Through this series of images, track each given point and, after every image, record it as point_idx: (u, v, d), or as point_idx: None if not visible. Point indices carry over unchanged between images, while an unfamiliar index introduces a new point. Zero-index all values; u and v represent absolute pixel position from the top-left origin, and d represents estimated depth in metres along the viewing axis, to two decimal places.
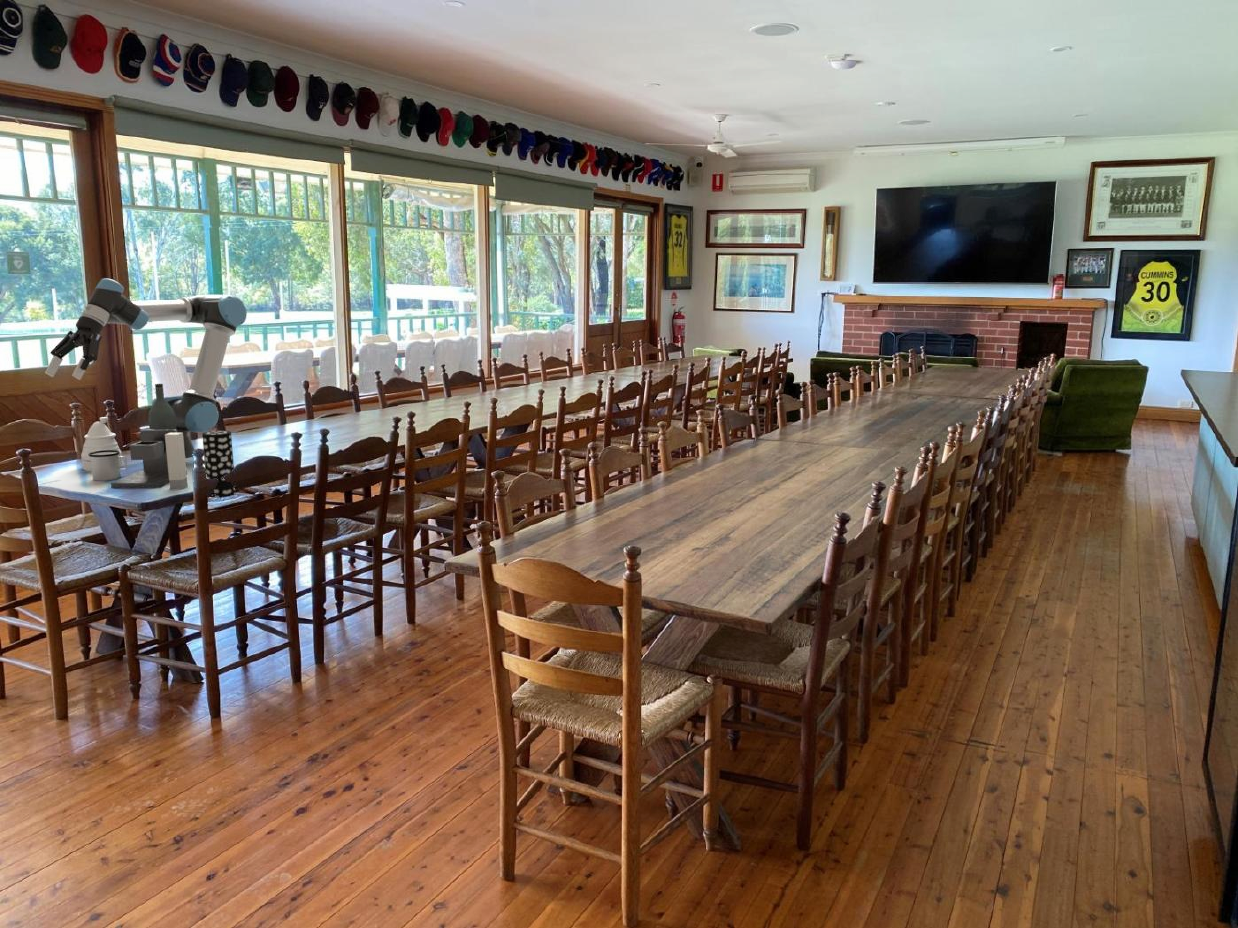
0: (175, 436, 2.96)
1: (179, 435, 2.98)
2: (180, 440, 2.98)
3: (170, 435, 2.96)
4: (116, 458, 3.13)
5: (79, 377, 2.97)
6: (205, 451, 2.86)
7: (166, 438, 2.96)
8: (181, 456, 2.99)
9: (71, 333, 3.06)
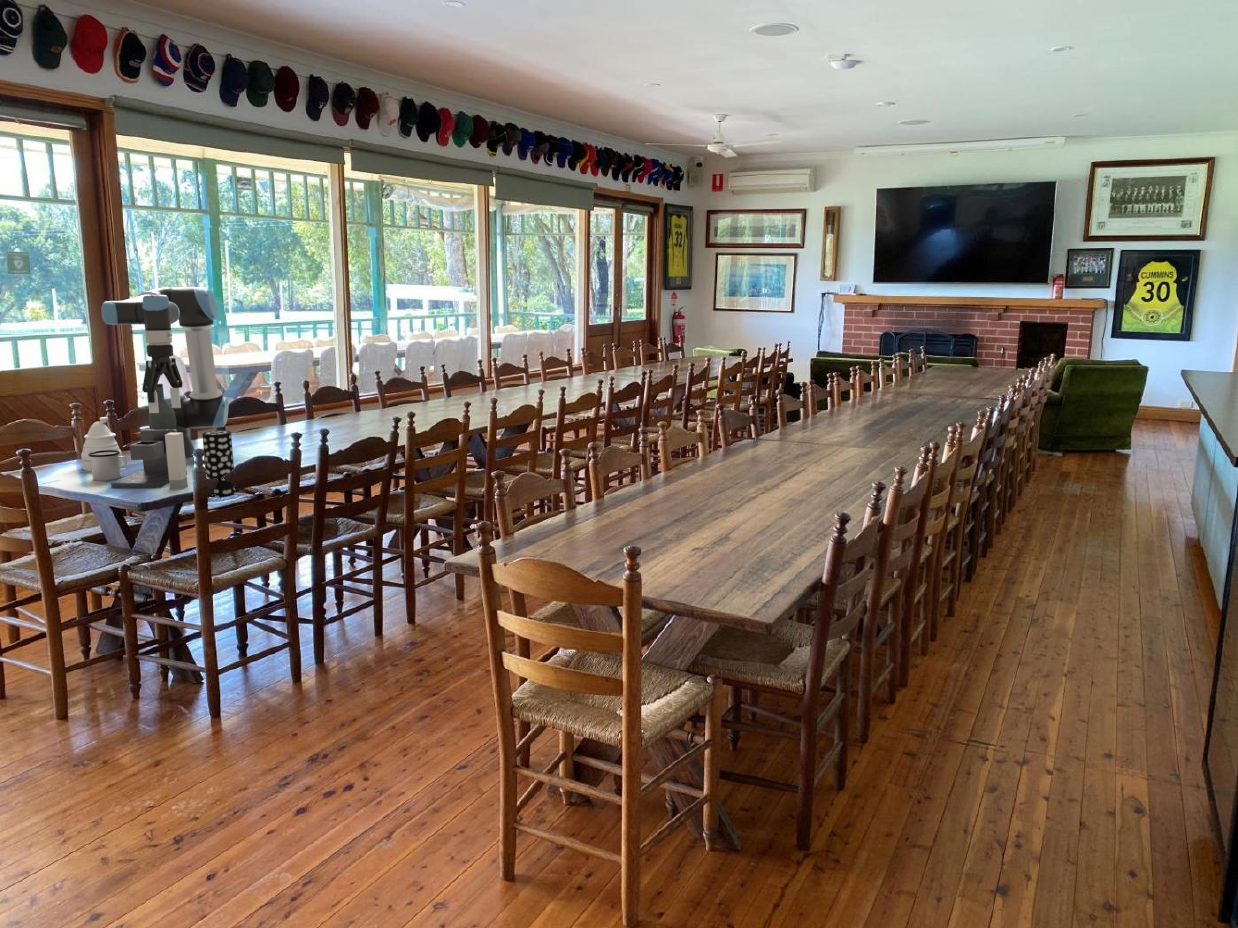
0: (175, 436, 2.96)
1: (179, 435, 2.98)
2: (180, 440, 2.98)
3: (170, 435, 2.96)
4: (116, 458, 3.13)
5: None
6: (205, 451, 2.86)
7: (166, 438, 2.96)
8: (181, 456, 2.99)
9: None
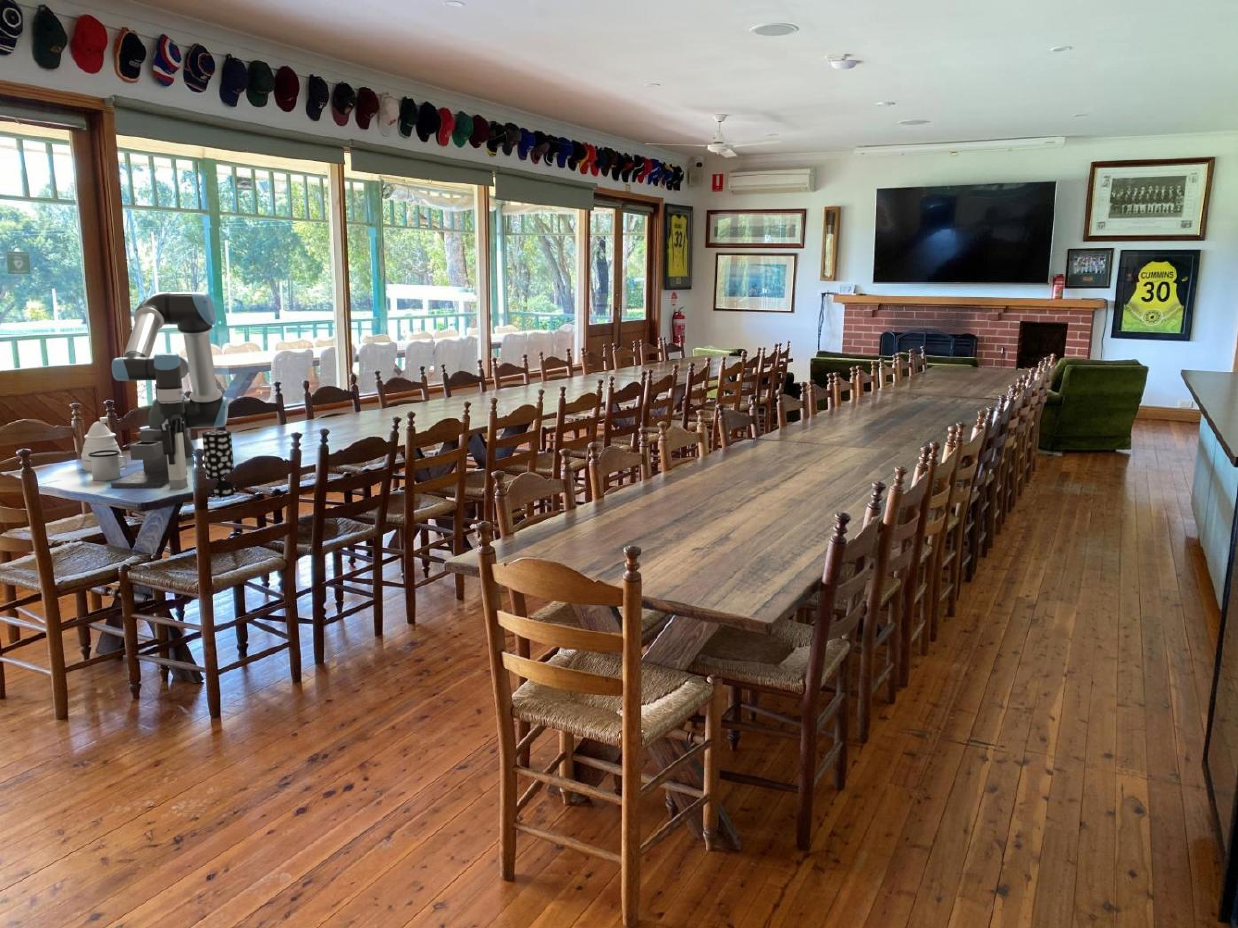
0: (175, 436, 2.96)
1: (179, 435, 2.98)
2: (180, 440, 2.98)
3: None
4: (116, 458, 3.13)
5: None
6: (205, 451, 2.86)
7: None
8: (181, 456, 2.99)
9: None
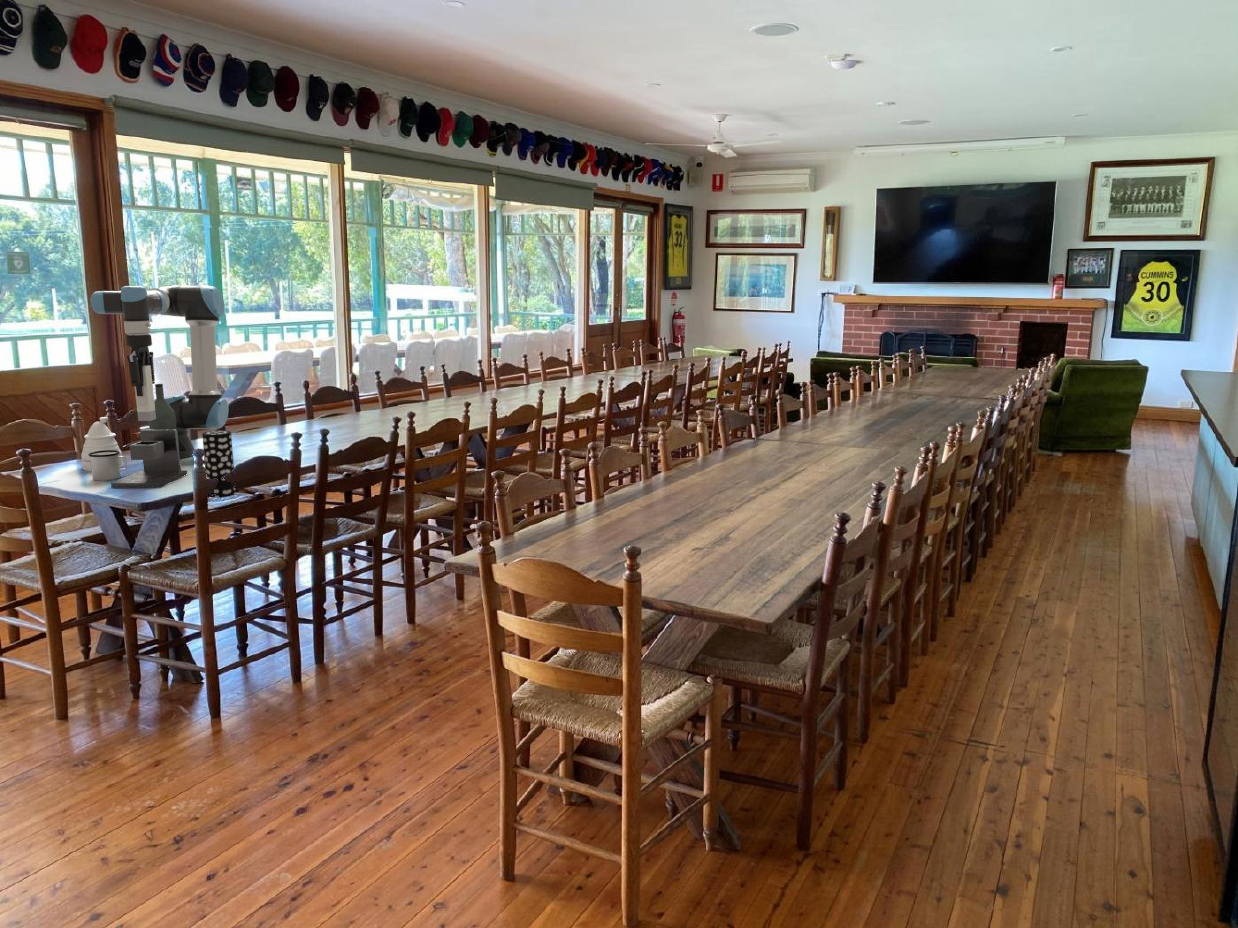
0: (143, 368, 3.01)
1: (147, 367, 3.02)
2: (148, 373, 3.03)
3: None
4: (116, 458, 3.13)
5: None
6: (205, 451, 2.86)
7: None
8: (149, 389, 3.04)
9: None
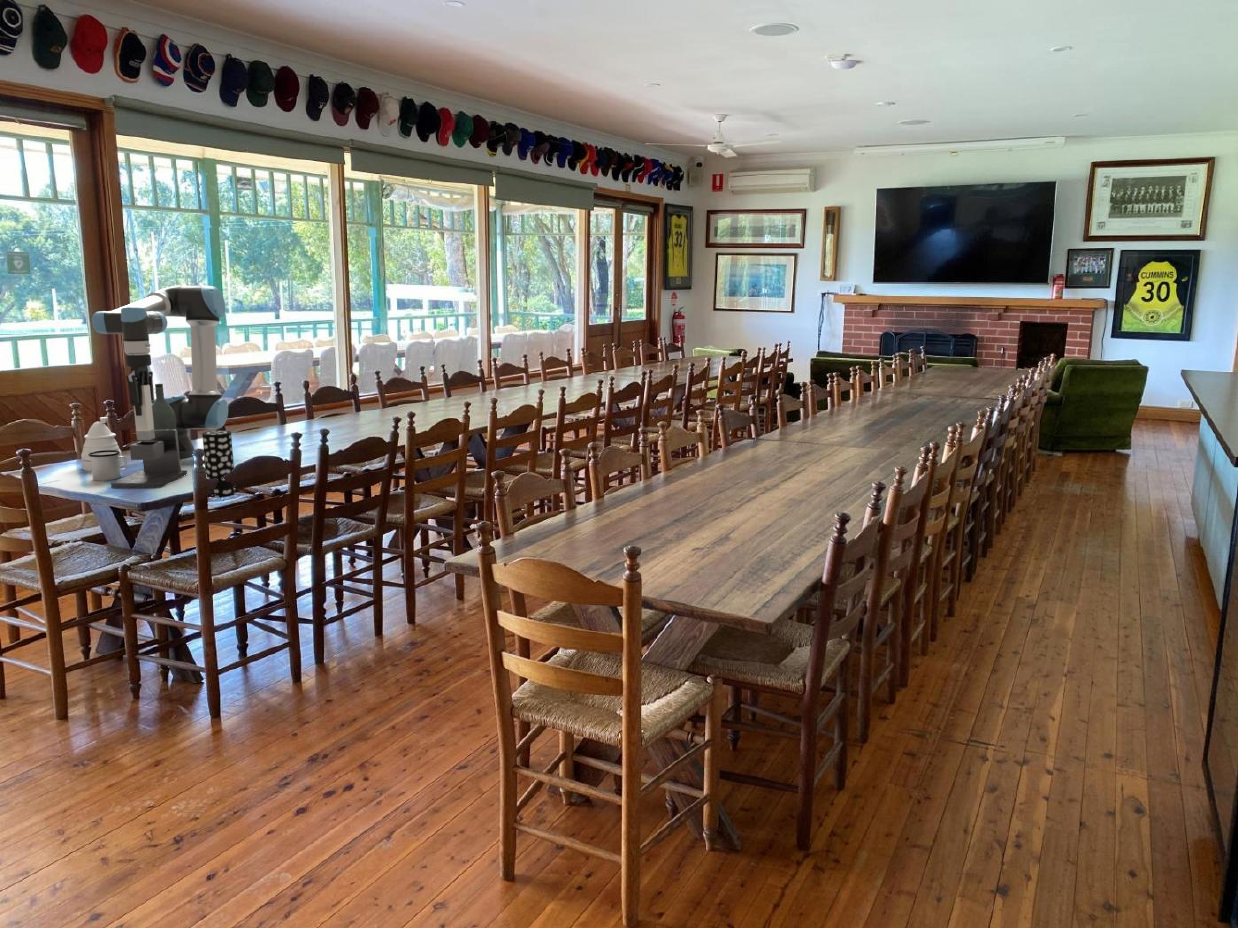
0: (142, 388, 3.03)
1: (146, 387, 3.04)
2: (147, 392, 3.05)
3: None
4: (116, 458, 3.13)
5: None
6: (205, 451, 2.86)
7: None
8: (148, 408, 3.06)
9: None
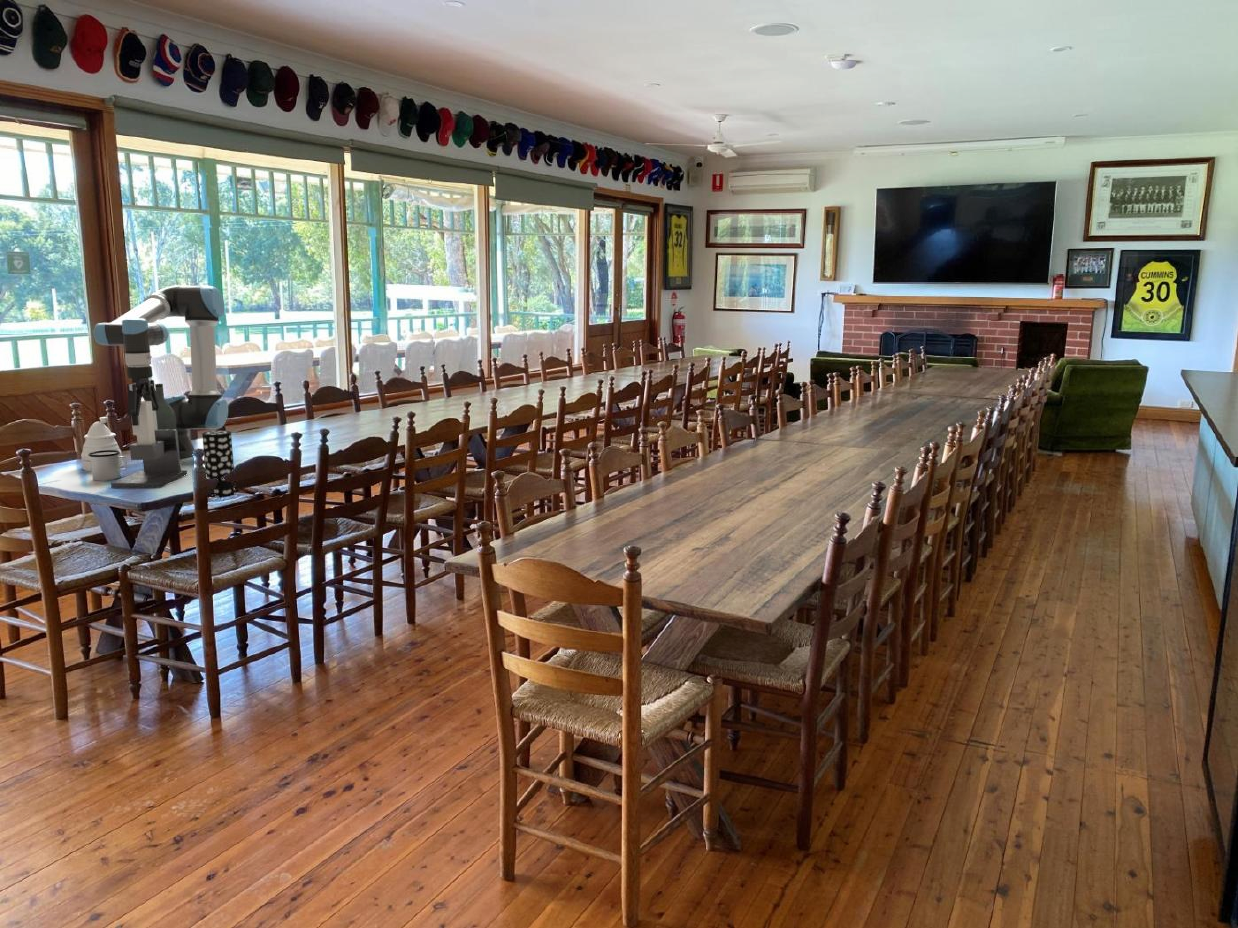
0: (143, 404, 3.04)
1: (147, 403, 3.05)
2: (148, 408, 3.06)
3: None
4: (116, 458, 3.13)
5: None
6: (205, 451, 2.86)
7: None
8: (150, 424, 3.07)
9: None
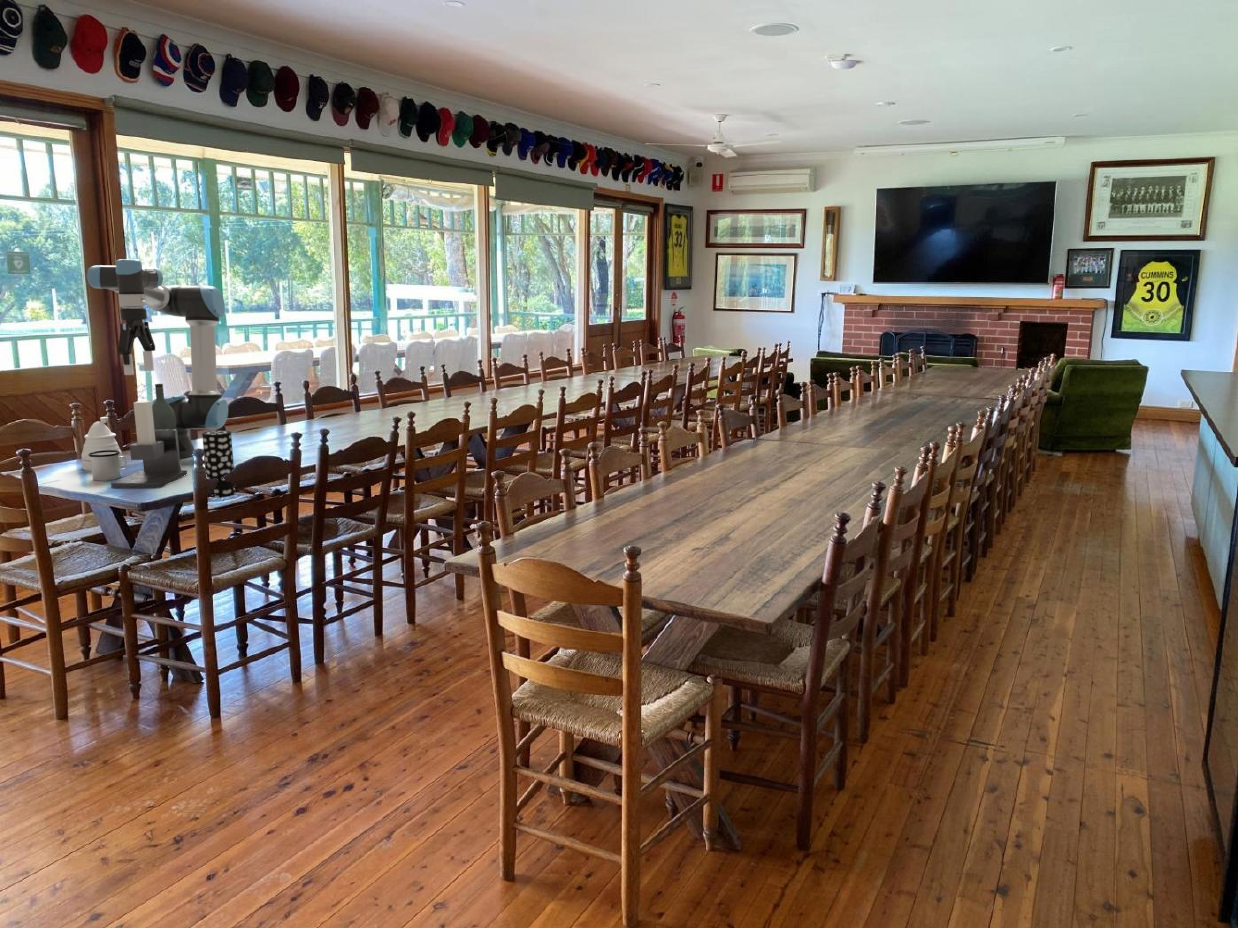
0: (143, 404, 3.04)
1: (147, 403, 3.05)
2: (148, 408, 3.06)
3: (139, 403, 3.04)
4: (116, 458, 3.13)
5: None
6: (205, 451, 2.86)
7: (135, 406, 3.04)
8: (150, 424, 3.07)
9: None
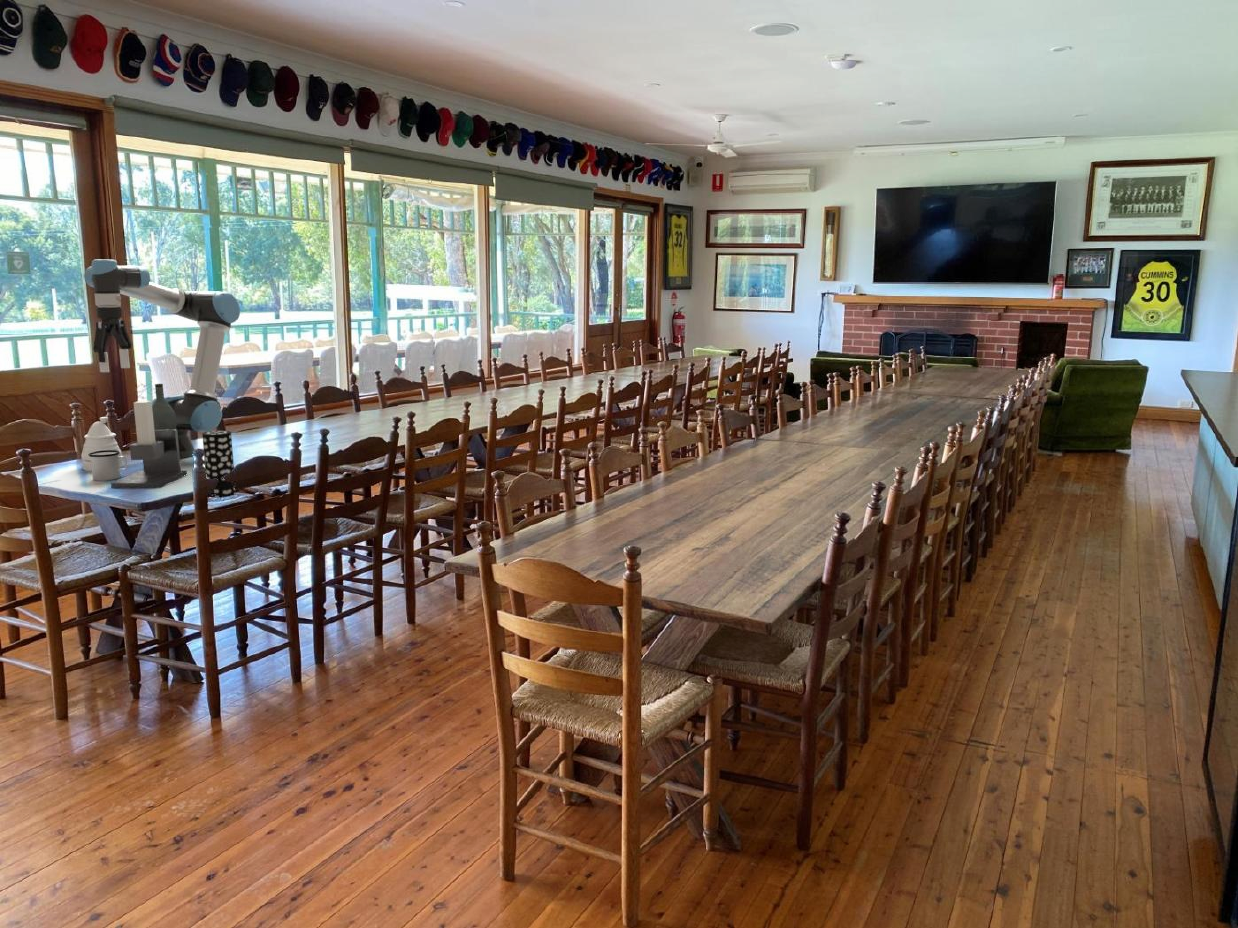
0: (143, 404, 3.04)
1: (147, 403, 3.05)
2: (148, 408, 3.06)
3: (139, 403, 3.04)
4: (116, 458, 3.13)
5: None
6: (205, 451, 2.86)
7: (135, 406, 3.04)
8: (150, 424, 3.07)
9: None
